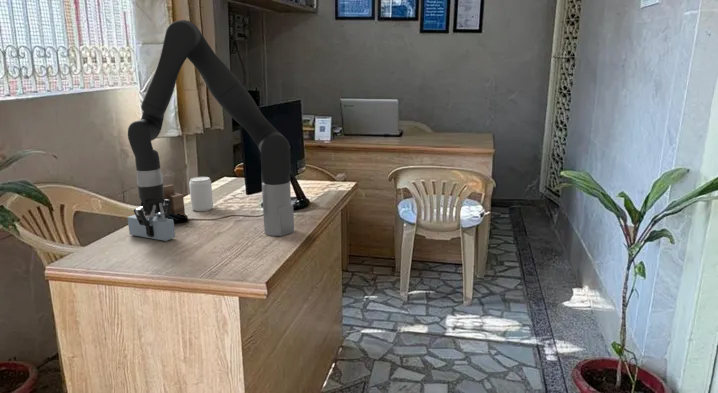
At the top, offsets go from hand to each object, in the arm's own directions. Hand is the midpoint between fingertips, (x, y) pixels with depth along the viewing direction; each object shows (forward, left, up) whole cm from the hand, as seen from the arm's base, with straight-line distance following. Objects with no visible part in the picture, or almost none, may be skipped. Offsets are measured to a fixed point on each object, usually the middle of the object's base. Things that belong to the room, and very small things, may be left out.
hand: (156, 234), depth 172 cm
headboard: (+15, -11, -1) cm, 19 cm away
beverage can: (+18, -29, -2) cm, 34 cm away
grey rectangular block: (+2, +1, -1) cm, 2 cm away
